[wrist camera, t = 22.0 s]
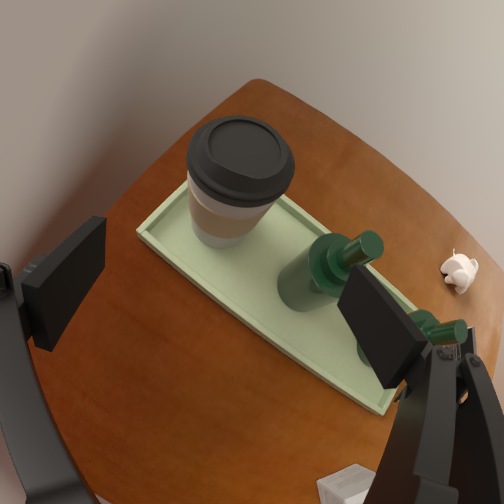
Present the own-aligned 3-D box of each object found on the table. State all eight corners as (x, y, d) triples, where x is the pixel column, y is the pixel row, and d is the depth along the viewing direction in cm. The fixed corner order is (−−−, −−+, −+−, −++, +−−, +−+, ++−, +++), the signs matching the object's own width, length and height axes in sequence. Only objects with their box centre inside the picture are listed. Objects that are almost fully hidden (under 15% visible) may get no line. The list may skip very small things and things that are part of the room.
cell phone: (435, 336, 38) (442, 335, 37) (470, 326, 41) (476, 325, 39) (438, 373, 36) (444, 373, 35) (473, 358, 39) (478, 358, 37)
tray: (137, 237, 33) (135, 230, 31) (219, 157, 39) (221, 148, 37) (374, 414, 32) (383, 416, 30) (418, 320, 38) (427, 318, 36)
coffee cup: (200, 179, 36) (217, 90, 23) (266, 206, 37) (313, 129, 24) (169, 239, 33) (166, 161, 19) (242, 270, 34) (286, 211, 20)
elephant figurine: (445, 304, 41) (471, 296, 35) (429, 261, 42) (454, 249, 37) (462, 289, 43) (486, 281, 37) (447, 250, 45) (470, 238, 39)
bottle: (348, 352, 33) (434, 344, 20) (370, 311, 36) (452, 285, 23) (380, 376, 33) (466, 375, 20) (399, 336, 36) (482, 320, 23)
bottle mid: (266, 290, 34) (323, 247, 20) (295, 250, 36) (357, 192, 23) (308, 323, 34) (386, 300, 20) (334, 281, 36) (410, 241, 23)
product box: (359, 493, 27) (390, 511, 21) (321, 511, 26) (348, 534, 19) (356, 461, 29) (389, 476, 22) (315, 479, 27) (344, 500, 21)
